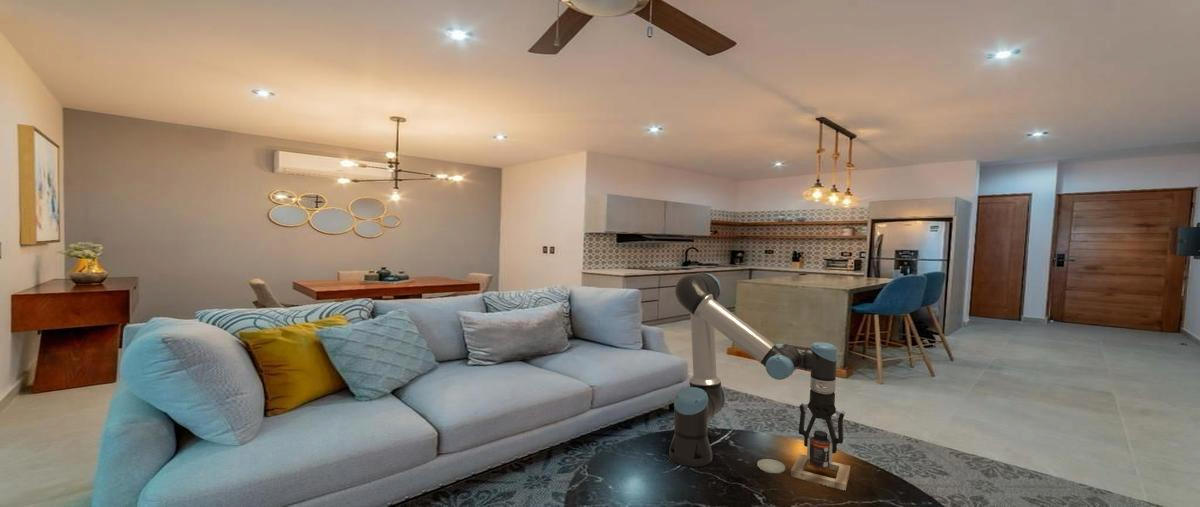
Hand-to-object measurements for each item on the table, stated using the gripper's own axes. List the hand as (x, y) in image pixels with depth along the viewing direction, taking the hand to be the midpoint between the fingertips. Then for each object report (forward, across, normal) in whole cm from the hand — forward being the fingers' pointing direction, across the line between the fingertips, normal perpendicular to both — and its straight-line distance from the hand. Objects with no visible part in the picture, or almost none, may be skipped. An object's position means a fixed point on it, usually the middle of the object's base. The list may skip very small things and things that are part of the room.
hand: (819, 458), depth 158 cm
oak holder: (+5, 0, 0) cm, 5 cm away
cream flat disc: (+5, -14, -4) cm, 16 cm away
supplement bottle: (+3, 0, 0) cm, 3 cm away
